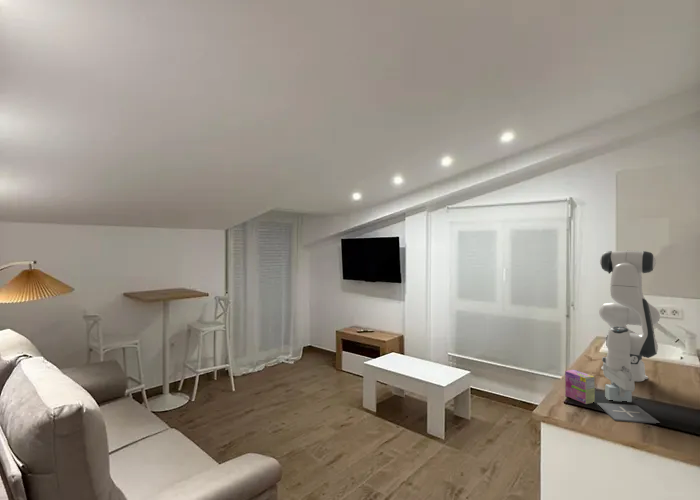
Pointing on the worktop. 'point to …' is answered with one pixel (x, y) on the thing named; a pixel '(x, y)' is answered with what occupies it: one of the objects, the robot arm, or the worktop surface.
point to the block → (616, 393)
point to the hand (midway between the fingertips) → (618, 393)
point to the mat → (627, 413)
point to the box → (580, 386)
